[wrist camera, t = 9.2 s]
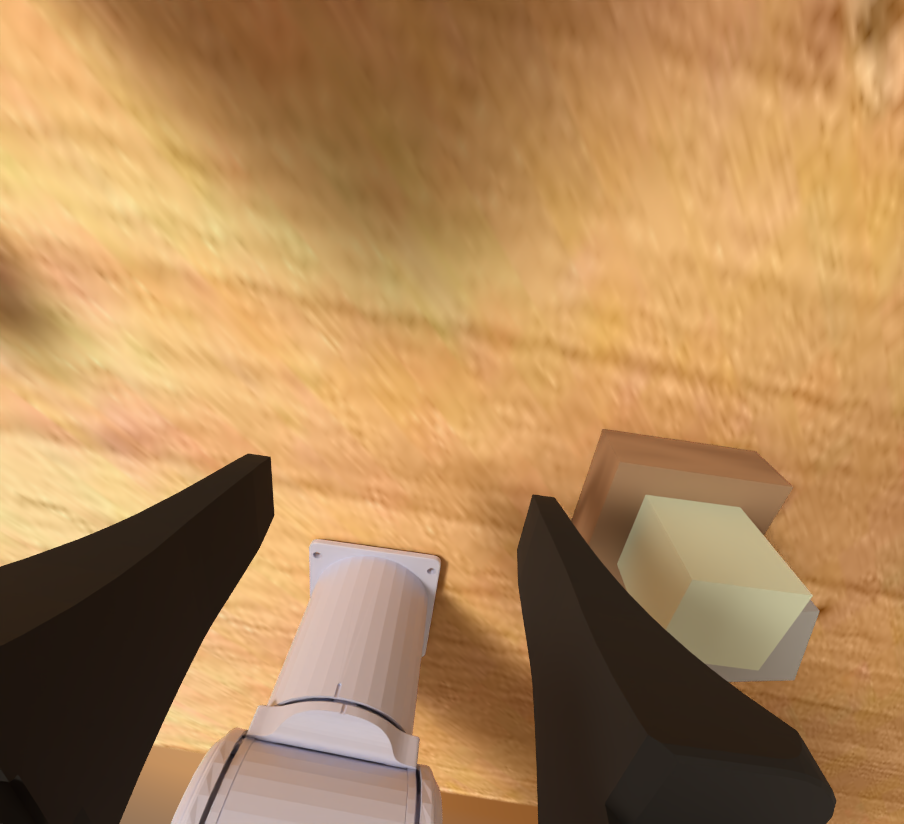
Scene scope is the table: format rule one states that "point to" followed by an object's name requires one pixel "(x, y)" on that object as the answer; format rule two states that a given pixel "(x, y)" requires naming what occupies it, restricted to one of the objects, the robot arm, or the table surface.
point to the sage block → (711, 580)
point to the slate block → (779, 653)
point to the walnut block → (668, 486)
